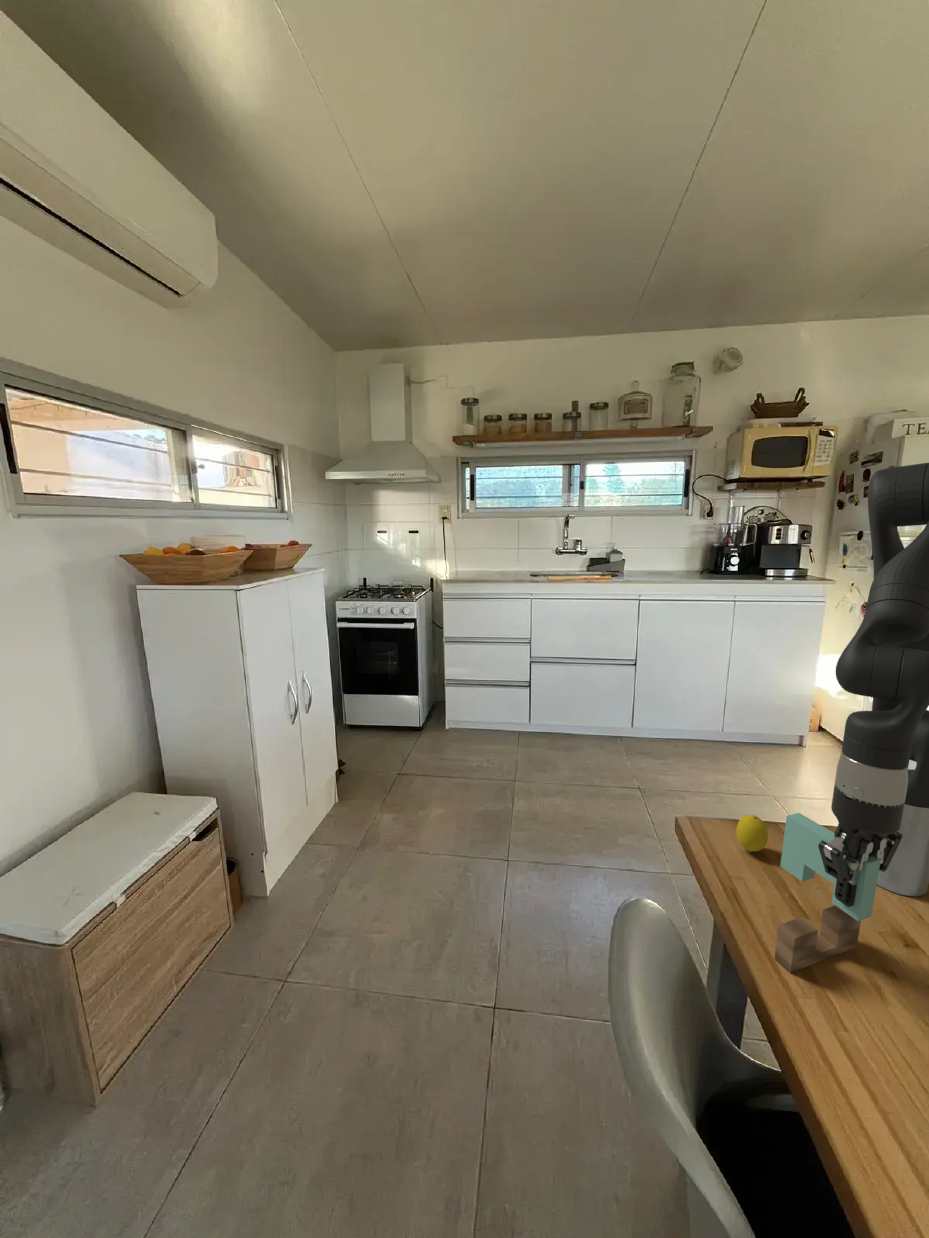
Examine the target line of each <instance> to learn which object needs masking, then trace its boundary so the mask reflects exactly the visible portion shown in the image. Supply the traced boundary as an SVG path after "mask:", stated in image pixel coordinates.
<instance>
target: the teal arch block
mask: <svg viewBox="0 0 929 1238" xmlns="http://www.w3.org/2000/svg"><path fill="white" fill-rule="evenodd" d="M784 825H785V826H784V833H783V842H782V850H781V858H780V865H779V867H780V868H782V869H784V870H785V871H786V872H788V873H789V874H791V875H792V876H793V877H794V878H796V879H797V880H798V881H800V882H805V881H808V880H811V879H815V875H816V874H818V875H820V876H821V877H822V878H824V879H826V880H827V881H829V882H830V883H831V884H833V891H832V895H831V896H832V897H831V903H832V904H833V906H834V905H836V906H837V907H839V908H840V909H841V910H843V911H844V912H846V913H847V914H848V915H850V916H851V917H853V918H854V919H856V920H857V921H861V922H862V921H863V920H866V919H868V918H869V919H870V918H872V914H873V909H874V908H873V907H874V901H875V896H876V892H877V891H876V890H877V879H878V873H879V867H880V861H881V860H880V859H876V858H875V857H873V856H870V857H868V859H867V862H866V863H865V869H864V870H861V871H860V873H859V877H858V881H857V883H856V884H857V888H856V894H855V900H854V905H853V906H850V907H847V906H846V905H844V904H843V903H841V902H840V901H839V900H837V899H836V897H835V888H836V881H837V879H836V878H834V877H833V876H831V875H829V874H828V873H826V872H825V868H824V865H823V861H822V858H821V854H820V851H819V847H818V845H819V843H820V842H821V841H825V842H826V843H830V842H831V841H832V840H833V839H835V836H834V834H835V832H833V831H831V829H828V828H826V827H825V826H823V825H821V824H820V823H817V822H816V821H814V820H812V819H811V818H809V817H807V816H806V815H804V814H802V813H801V812H796V813H792V814H788V815H786V819H785V824H784ZM845 855H846V854H845ZM846 856H847V855H846ZM848 857H849V856H848ZM849 858H851V857H849ZM851 859H852V858H851ZM853 860H854V861H856V862H857V860H855V859H853ZM845 865H846V864H845ZM846 868H847V872H849V873H850V870H851V868H850V867H849V866H848V865H846Z"/></svg>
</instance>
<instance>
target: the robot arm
mask: <svg viewBox="0 0 929 1238" xmlns="http://www.w3.org/2000/svg"><path fill="white" fill-rule="evenodd" d="M867 488H868V489H867V511H868V512H867V514H868V523H869V524H868V525H869V531H870V540H871V541H870V543H871V550H872V551H871V552H872V564H873V580H872V583H871V586H870V588H869V592H868V597H867V603H866V606H865V612H864V615H863V618H862V622H860V626H859V627H858V628H857V630H856V632H855V634H854V636H853V637H852V639H850V641H849V642H848V644H847V645H846V646H845V648H844V649H843V651H842V653H841V654H840V655H839V658H838V660H837V663H836V666H835V677H836V681H837V683H838V684H839V686H840V687H841V688H842V690H844V691H845V692H847V693H848V694H849V693H850V694H853V695H858V696H863V697H870V698H872V705H871V710H859V711H854V712H852V713H850V714H849V715H848V716H847V718H846V720H845V725H844V731H843V732H844V733H843V738H842V739H843V740H842V746H841V753H840V755H839V758H838V762H837V766H836V770H835V771H836V772H835V779H834V786H833V793H832V799H831V800H832V801H831V807H830V808H831V812H832V813H833V815H834V816H835V818H836V820H837V821H838V824H837V826H836V829H835V831H834V833H835V834H834V836H835V839H833V840H832V841H831V842H830V843H826V842H825V841H821V842H820V843H819V845H818V847H819V851H820V854H821V858H822V861H823V865H824V868H825V872H826V873H828V874H829V875H831V876H833V877H834V878H836V879H837V881H836V888H835V897H836V899H837V900H839V901H840V902H841V903H843V904H844V905H846V906H847V907H850V906H853V905H854V900H855V894H856V888H857V884H856V883H857V881H858V877H859V873H860V871H861V870H864V869H865V863H866V862H867V859H868V857H870V856H873V857H875V858H876V859H880V860H881V861H880V867H879V873H878V879H877V885H878V886H879V887H881V888H882V889H885V890H888V891H890V892H892V893H895V894H898V895H902V896H906V897H907V896H908V897H920V896H923V895H925V894H926V893H927V891H928V887H929V886H928V885H929V709H928V707H929V462H924V463H916V464H908V465H902V466H901V465H900V466H894V467H893V466H892V467H886V468H882V469H879V470H877V471H875V472H874V473H873V474H872V476H871V477H870V480H869V483H868V487H867ZM912 526H915V527H916V526H924V528H923V530H922V531H921V532H920V533H919V534H918V535H917V536H916V538H914V539H913V541H911V542H910V543H909V544H908V545H907V546H906V547H904V544H903V542H902V539H901V537H900V534H899V531H898V527H912ZM910 761H912V762H915V763H916V765H915V767H914V769H909V765H910ZM845 854H846V855H847V856H846V855H845ZM848 856H849V857H851V858H852V859H851V858H849V857H848ZM853 859H855V860H857V862H856V861H854V860H853ZM845 864H846V865H848V866H849V867H850V868H851V870H850V873H849V872H847V868H846V865H845ZM877 885H876V886H877Z"/></svg>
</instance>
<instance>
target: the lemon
mask: <svg viewBox="0 0 929 1238" xmlns="http://www.w3.org/2000/svg"><path fill="white" fill-rule="evenodd" d="M735 831H736V835H735V836H736V838H737V841H738V843H739V844H740V845H741V847H743V848H744V849H745V850H747V851H748V852H750V853H752V852H759V851H762V850H763V849H765V847H766V845H767V843H768V841H769V840H768V839H769V832H768V828H767V825H766V823H765V822H764V821H763V820H762V819H761V818H760V817H759V816H756V815H755V814H750V815H749V814H748V815H745V816H743V817H741V818H740V819H739V820H738V823H737V825H736V829H735Z"/></svg>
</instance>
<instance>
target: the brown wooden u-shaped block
mask: <svg viewBox="0 0 929 1238" xmlns="http://www.w3.org/2000/svg"><path fill="white" fill-rule="evenodd" d="M820 923H821V924H820V931H819V929H818V928H817V927H815V926H814V925H813V924H811V923H810V922H809V921H808V920H806V919H804V918H803V917H802V916H800V917H798V918H795V919H792V920H789V921H785V922H784V923H780V924H778V928H777V935H776V944H775V945H776V946H775V953H774V960H775V961H777V963H778V964H780V965H781V967H783V968H784V969H785V970H786V971H787V972H788V973H789V974H792V973H794V972H797V971H799V970H802V969H804V968H807V967H810V966H812V965H815V964H817V963H820V962H823V961H825V960H827V959H830V958H833V957H834V956H837V955H840V954H843V953H845V952H848V951H850V950H853V949H855V948H857V947H858V942H859V935H860V929H861V923H862V920H861V921H857V920H856V919H854V918H853V917H851V916H850V915H848V914H847V913H846V912H844V911H843V910H841V909H840V908H839V907H837V906H836V905H834V904H833V905H831V906H829V907H825V908H824V909H823V910H822V916H821V922H820ZM818 933H819V934H818Z"/></svg>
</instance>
